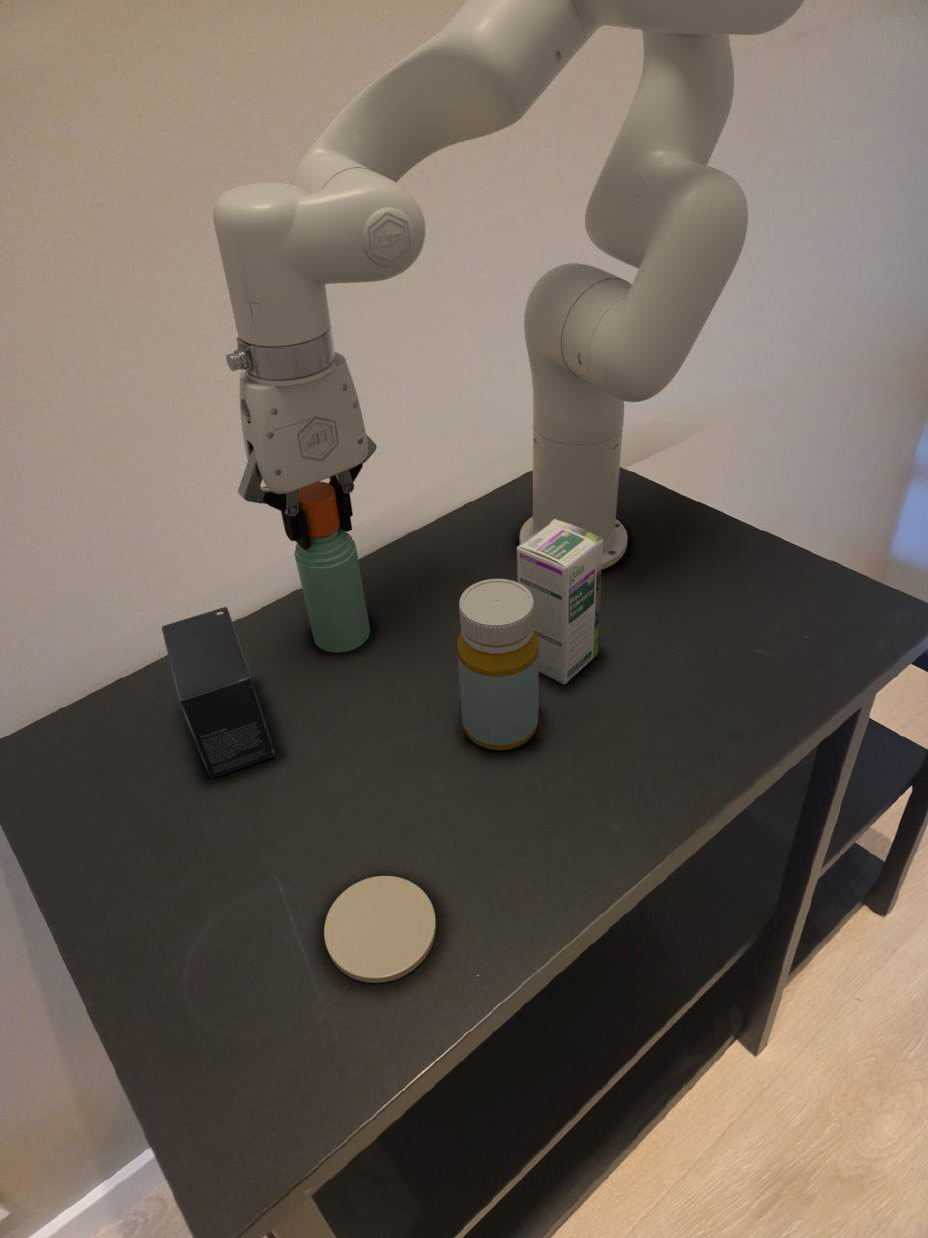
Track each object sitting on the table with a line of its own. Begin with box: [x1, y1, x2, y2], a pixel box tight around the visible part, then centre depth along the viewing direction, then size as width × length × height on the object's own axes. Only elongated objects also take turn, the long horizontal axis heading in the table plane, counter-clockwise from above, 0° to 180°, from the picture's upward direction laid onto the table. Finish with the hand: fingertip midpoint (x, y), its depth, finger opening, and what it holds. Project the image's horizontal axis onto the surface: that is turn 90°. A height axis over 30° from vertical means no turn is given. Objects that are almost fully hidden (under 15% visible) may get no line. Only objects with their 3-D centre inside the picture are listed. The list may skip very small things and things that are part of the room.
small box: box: [161, 606, 276, 779], centre depth 79 cm, size 11×6×10 cm, turn 23°
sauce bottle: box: [294, 527, 371, 654], centre depth 86 cm, size 6×6×17 cm
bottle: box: [456, 578, 540, 751], centre depth 76 cm, size 7×7×15 cm
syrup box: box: [516, 519, 603, 685], centre depth 83 cm, size 6×6×14 cm
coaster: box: [323, 875, 437, 984], centre depth 65 cm, size 8×8×1 cm
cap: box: [299, 481, 340, 537], centre depth 82 cm, size 4×4×4 cm
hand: (321, 532), depth 83 cm, fingers closed on cap, 3 cm apart
